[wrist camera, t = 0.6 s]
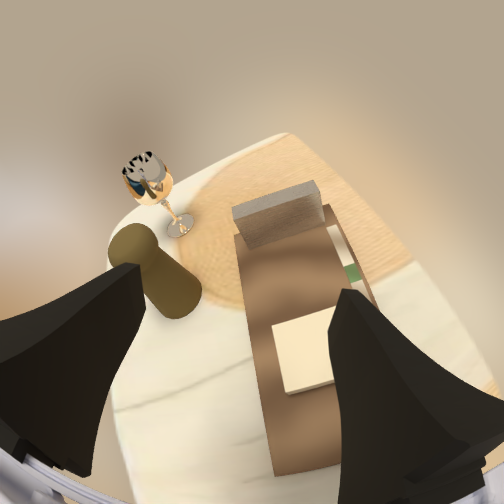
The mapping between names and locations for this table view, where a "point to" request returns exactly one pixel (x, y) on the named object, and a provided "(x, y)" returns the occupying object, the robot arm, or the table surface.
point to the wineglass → (154, 188)
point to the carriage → (304, 351)
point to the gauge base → (288, 308)
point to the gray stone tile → (279, 214)
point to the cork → (156, 271)
